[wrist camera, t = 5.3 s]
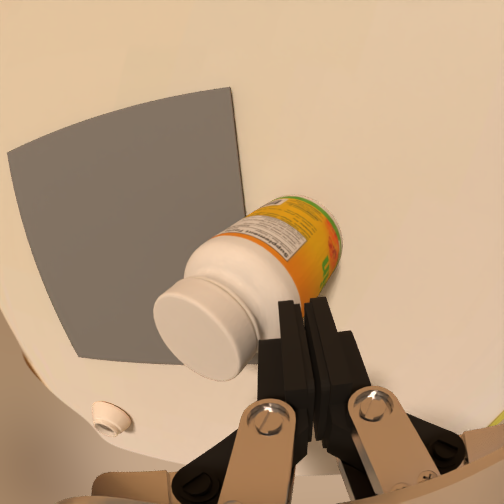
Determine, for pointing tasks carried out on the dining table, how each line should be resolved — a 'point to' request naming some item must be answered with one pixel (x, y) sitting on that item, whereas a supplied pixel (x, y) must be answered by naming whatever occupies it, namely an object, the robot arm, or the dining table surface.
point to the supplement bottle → (247, 284)
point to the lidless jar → (109, 419)
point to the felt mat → (127, 214)
